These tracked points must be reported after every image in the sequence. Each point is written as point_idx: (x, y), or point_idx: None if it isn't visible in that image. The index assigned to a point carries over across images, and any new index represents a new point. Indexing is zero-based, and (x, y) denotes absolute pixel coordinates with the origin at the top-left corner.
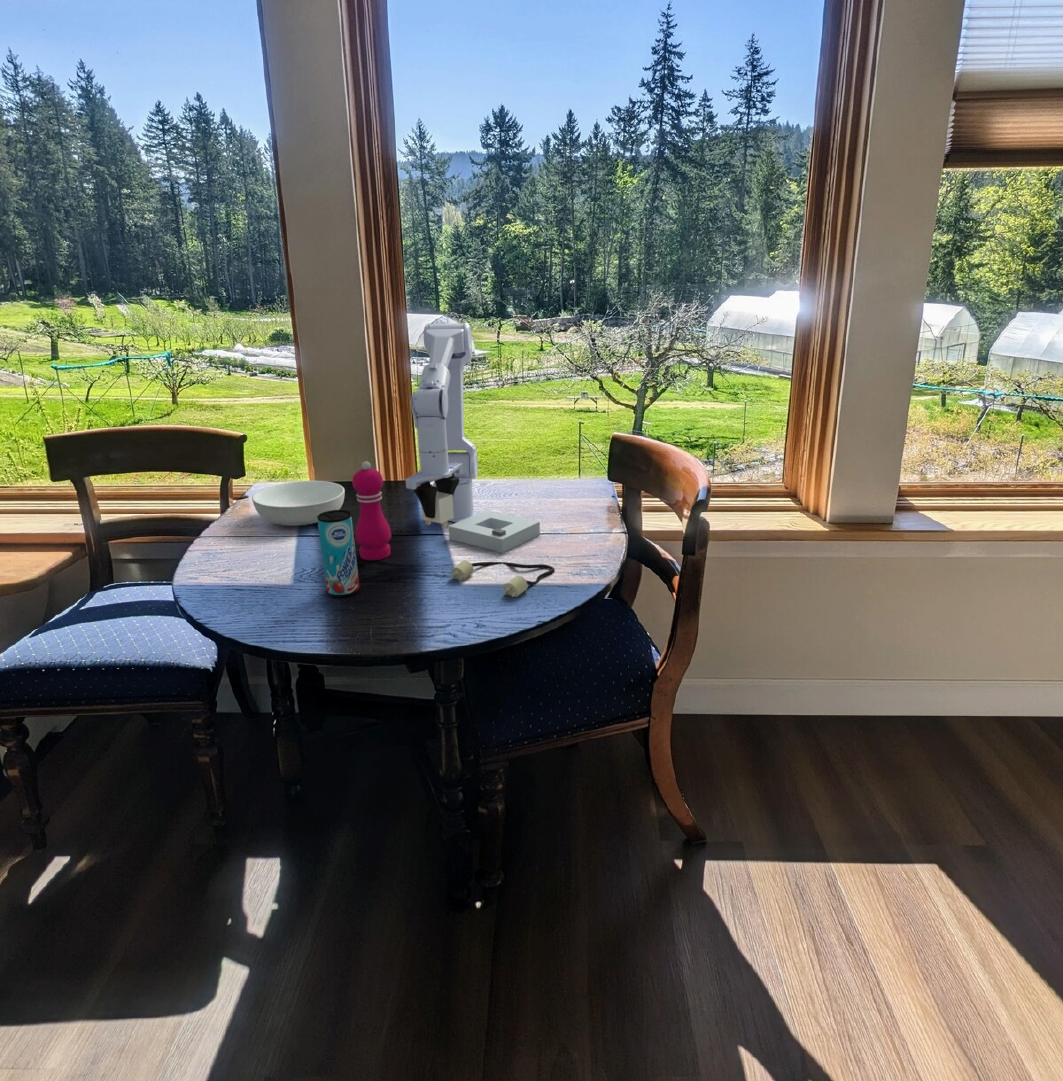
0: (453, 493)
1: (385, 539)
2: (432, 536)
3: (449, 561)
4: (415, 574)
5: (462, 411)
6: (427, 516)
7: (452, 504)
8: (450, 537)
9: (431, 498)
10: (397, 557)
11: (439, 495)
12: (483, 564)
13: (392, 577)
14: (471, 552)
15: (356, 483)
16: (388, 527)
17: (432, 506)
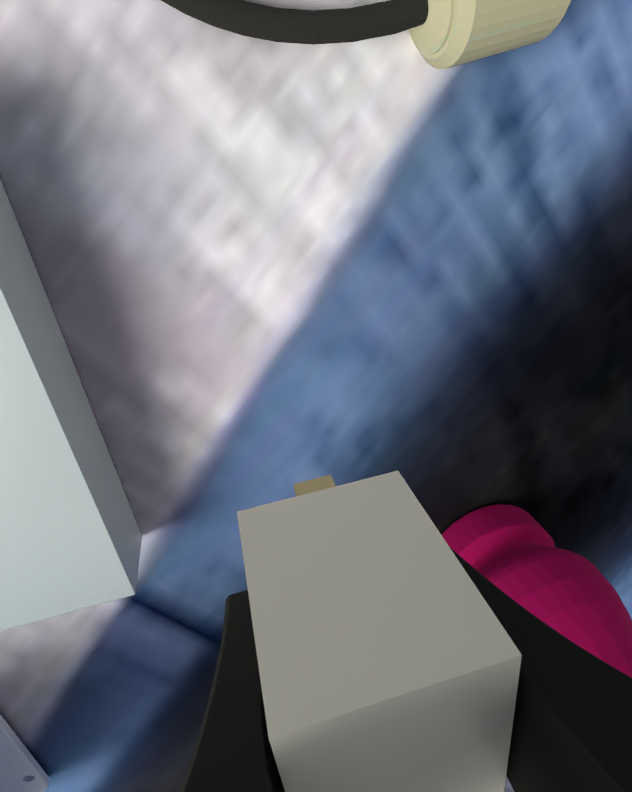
0: (198, 780)
1: (539, 560)
2: (187, 600)
3: (345, 280)
4: (558, 267)
5: None
6: None
7: (261, 615)
8: (138, 536)
9: (625, 683)
10: (453, 485)
11: (392, 766)
12: (266, 7)
13: (624, 315)
14: (163, 300)
15: None
16: None
17: (519, 610)
